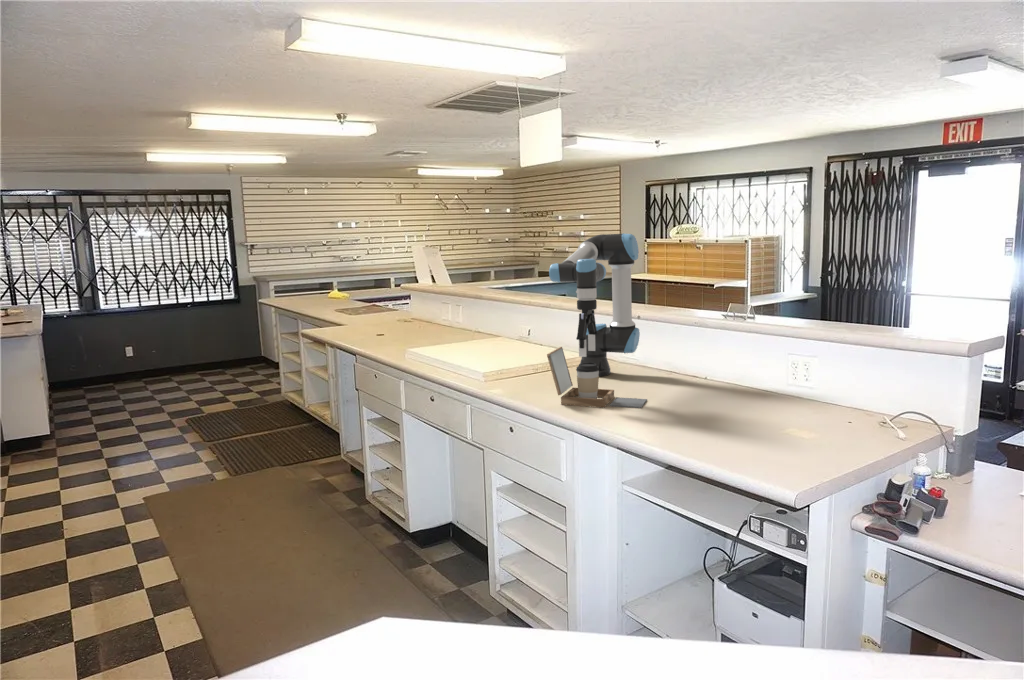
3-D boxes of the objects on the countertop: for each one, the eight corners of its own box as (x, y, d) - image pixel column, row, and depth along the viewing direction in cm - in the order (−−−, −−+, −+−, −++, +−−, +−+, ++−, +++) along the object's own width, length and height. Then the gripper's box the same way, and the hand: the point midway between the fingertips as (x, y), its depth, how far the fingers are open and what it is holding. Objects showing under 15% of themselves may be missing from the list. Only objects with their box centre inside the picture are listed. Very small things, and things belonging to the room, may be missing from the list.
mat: (616, 398, 263) (616, 397, 263) (646, 400, 258) (646, 399, 258) (609, 406, 252) (609, 404, 252) (641, 408, 247) (641, 406, 247)
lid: (572, 385, 271) (570, 385, 272) (562, 346, 270) (559, 347, 271) (560, 394, 256) (558, 395, 256) (549, 353, 255) (546, 354, 255)
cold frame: (573, 394, 272) (573, 387, 271) (614, 397, 266) (614, 389, 265) (561, 404, 256) (560, 397, 256) (604, 407, 250) (604, 399, 250)
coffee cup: (592, 404, 255) (591, 366, 252) (572, 401, 260) (571, 364, 258) (603, 399, 262) (603, 362, 259) (584, 397, 267) (583, 360, 265)
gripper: (585, 296, 268) (586, 348, 271) (568, 302, 245) (569, 358, 248) (603, 296, 265) (604, 348, 268) (587, 302, 242) (588, 359, 245)
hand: (587, 353), depth 258 cm, fingers open, 13 cm apart
